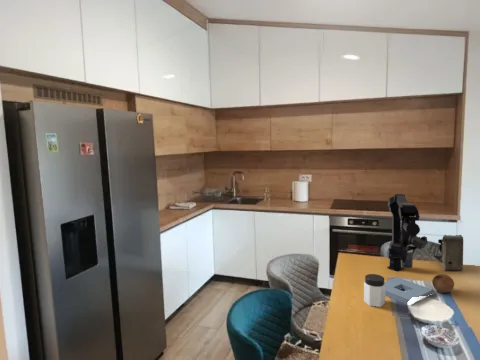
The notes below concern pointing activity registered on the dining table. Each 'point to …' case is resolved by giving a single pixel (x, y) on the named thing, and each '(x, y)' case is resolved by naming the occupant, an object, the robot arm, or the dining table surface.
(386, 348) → the dining table surface
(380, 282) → the jar
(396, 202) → the robot arm
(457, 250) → the vintage camera
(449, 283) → the onion
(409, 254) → the lens
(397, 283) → the mount block
